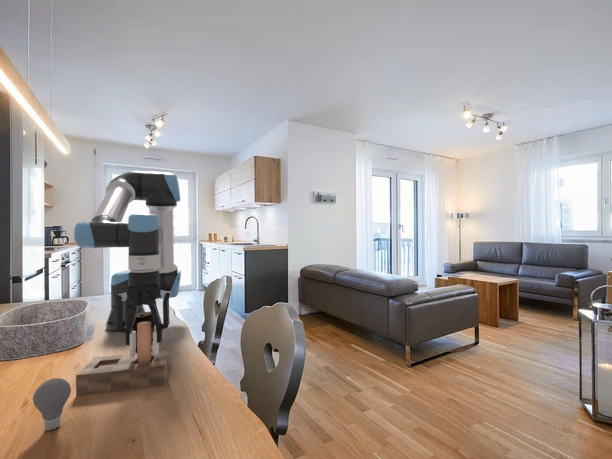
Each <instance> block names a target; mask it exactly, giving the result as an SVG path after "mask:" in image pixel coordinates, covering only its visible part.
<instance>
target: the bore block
mask: <svg viewBox="0 0 612 459" xmlns="http://www.w3.org/2000/svg"><path fill="white" fill-rule="evenodd" d="M171 369H172V349H167V350H158V354H157V356H153V352H151V362H148V363H139V364H137V353H136V354H135V356H134V357H133V358H130V353H125V354H123V353H122V354H115V355H103V356H94V357H93V358H92V359H91V360H90V361H89V362H87V364H86V365H84V367H83V368H81V370H79V372H78V373H77V374H76V375H75V394H76V396H77V397H78V396H85V395H93V394H100V393H109V392H117V391H126V390H133V389H141V388H143V389H144V388H150V387H157V386H165V385H166V381H167V379H168V377H169V375H170V371H171Z"/></svg>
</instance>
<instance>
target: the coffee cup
mask: <svg viewBox="0 0 612 459" xmlns="http://www.w3.org/2000/svg"><path fill="white" fill-rule="evenodd" d="M129 316H130V315H129ZM128 319H129V318H128ZM141 322H151V352H153V348H152V347H153V332H154V331H155V329H156V327H155V324H154V320H153V317H152V314H151V311H145V312H141V313H137V315H136V319H135V322H134V326H133V330H132V331H136V353H137V324H138V323H141ZM127 323H128V320H127Z"/></svg>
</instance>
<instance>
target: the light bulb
mask: <svg viewBox="0 0 612 459" xmlns="http://www.w3.org/2000/svg"><path fill="white" fill-rule="evenodd" d="M71 391H72V388H71V384H70V383H69V381H67V380H66V379H64V378H61V377H56V378H55V377H54V378H50V379H48V380H46V381H44V382H42V383H41V384H40V385H39V386H38V387H37V388H36V389H35V391H34V394H33V396H32V400H33V401H32V402H33V405H34V407H35V408H36V409H37V410H38V411H39V412H40V413H41V417H42V418H41V419H43V421H44V425H43V426H44V427H43V428H44V430H45V431H52V429H53V430H55V429H56V428H58V427H59V426H61V424H62V423H61V422H62V421H61V418H62V413H63V411H64V410H63V409H64V406H65V404H66V402H67V401H68V399H69V398H70V395H71Z"/></svg>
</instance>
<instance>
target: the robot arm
mask: <svg viewBox="0 0 612 459" xmlns="http://www.w3.org/2000/svg"><path fill="white" fill-rule="evenodd" d="M133 201H144V202H145V206H146V207H147V208H148V209H149V213H133V214H130V215H129V216H128V221H123V219H124V216H125V213H126V212H127V209H128V206H129V204H130V203H132V202H133ZM177 202H178V203H179V202H181V193H180V185H179V180H178V176H177V174H175V173H172V172H167V171H142V170H132V171H127V172H124V173H122V174H120V175H118V176H115V177H114V178H113V179H112V180H110V181H109V183H108V184H107V186H106V188H105V196H104V198H103V199H102V201H101V203H100V204H99V205H98V206H99V207H98V209H97V210H96V211H95V213H94V215H93V217H92V218H91V220H90V221H89V220H86V221H80V222H77V223H76V225H75V226H74V230H73V238H74V242H75V245H76V246H77V247H78V248H87V249H88V248H89V249H96V248H97V249H102V248H107V249H108V248H128V258H127V260H128V262H127V263H128V270H122V271H118V272H115V273H114V274H112V275H111V278H110V279H111V280H110V284H109V285H110V312H109V314H108V317H107V320H106V323H105V330H107V331H108V332H118V333H124V334H125V345H126V346H129V354H130V358H133V357H134V356H135V354H136V331H132V330H133V326H134V322H135V319H136V315H137V313H141V312H146V311H145V307H144V305H146V306H148V308H149V310H150V312H151V314H152V317H153V320H154V324H155V326H154V328H155V331H154V332H153V342H152V347H153V348H152V350H153V356H157V354H158V351H159V343H161V342H162V341H163V330H165V329H168V328H169V326H170V323H171V322H170V299H171V298H176V297H178V296H179V291H180V282H181V276H182V271H181V270H178V265H176V264H175V263H174V262H175V260H174V258H175V256H174V253H175V252H174V250H175V249H174V209H175V208H176V207H177V206H178V204H177ZM158 299H159V300H161V299H162V319H161V316H160V313H159V312H160V311H159V310H158V306H157V300H158ZM129 315H130V316H129ZM128 318H129V319H128ZM127 320H128V323H127Z"/></svg>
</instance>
